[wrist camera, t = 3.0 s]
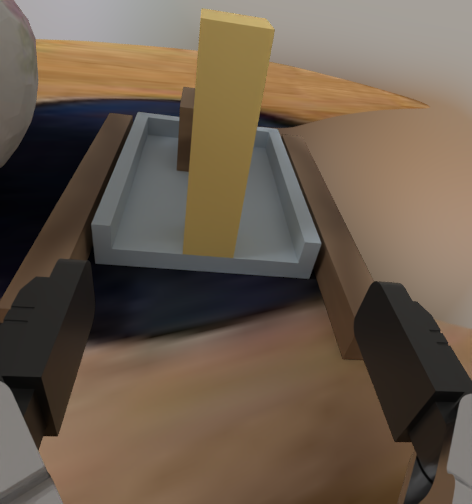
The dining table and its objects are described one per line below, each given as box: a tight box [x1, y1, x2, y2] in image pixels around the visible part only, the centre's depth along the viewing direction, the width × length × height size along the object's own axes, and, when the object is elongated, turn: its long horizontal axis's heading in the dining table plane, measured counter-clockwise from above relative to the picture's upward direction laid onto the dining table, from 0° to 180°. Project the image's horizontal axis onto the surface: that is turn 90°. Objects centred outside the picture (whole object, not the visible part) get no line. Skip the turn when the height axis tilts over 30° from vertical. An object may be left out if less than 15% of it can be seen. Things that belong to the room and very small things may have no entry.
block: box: [177, 87, 195, 172], centre depth 31 cm, size 5×5×5 cm
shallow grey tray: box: [91, 9, 321, 279], centre depth 26 cm, size 13×18×13 cm
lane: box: [0, 113, 374, 360], centre depth 27 cm, size 18×24×2 cm
